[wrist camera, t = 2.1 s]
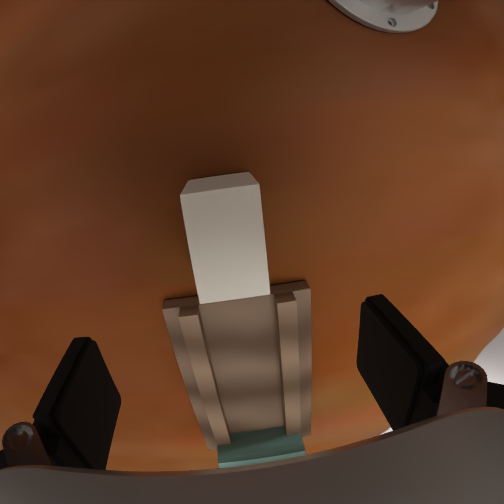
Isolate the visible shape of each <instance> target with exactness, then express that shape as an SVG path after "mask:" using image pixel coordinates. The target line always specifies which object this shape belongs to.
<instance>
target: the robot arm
mask: <svg viewBox="0 0 504 504" xmlns="http://www.w3.org/2000/svg"><path fill="white" fill-rule="evenodd" d="M328 1H329V2H330V3H331V4H333V5H334V6H335V7H336V8H337V9H339V10H340V11H341V12H342V13H344V14H345V15H347V16H348V17H350V18H351V19H353V20H355V21H357V22H359V23H361V24H363V25H365V26H367V27H370V28H373V29H375V30H378V31H383V32H388V33H407V32H412V31H415V30H417V29H420V28H422V27H424V26H425V25H427V24H428V23H429V22H430V21H431V20H432V18H433V17H434V16H435V13H436V11H437V8H438V1H439V0H328ZM357 368H358V370H359V372H360V374H361V376H362V377H363V379H364V381H365V382H366V384H367V386H368V388H369V389H370V391H371V393H372V394H373V396H374V398H375V400H376V401H377V403H378V405H379V407H380V408H381V410H382V412H383V414H384V415H385V417H386V419H387V421H388V422H389V424H390V426H391V428H392V429H393V431H391V432H388V433H385V434H382V435H379V436H375V437H372V438H369V439H365V440H362V441H359V442H355V443H352V444H348V445H345V446H341V447H337V448H333V449H329V450H325V451H321V452H317V453H312V454H308V455H303V456H298V457H293V458H288V459H283V460H277V461H271V462H265V463H259V464H252V465H244V466H236V467H227V468H217V469H205V470H190V471H162V472H140V471H113V470H105V469H106V465H107V460H108V455H109V451H110V447H111V442H112V438H113V434H114V430H115V426H116V421H117V417H118V414H119V410H120V406H121V397H120V394H119V392H118V390H117V388H116V386H115V384H114V382H113V380H112V377H111V375H110V373H109V371H108V369H107V366H106V364H105V362H104V360H103V357H102V355H101V353H100V350H99V348H98V345H97V343H96V342H95V341H94V340H93V341H92V339H91V338H90V337H79V338H74V339H73V340H72V342H71V344H70V346H69V347H68V349H67V351H66V353H65V355H64V356H63V358H62V360H61V362H60V364H59V365H58V367H57V369H56V371H55V373H54V375H53V377H52V378H51V380H50V382H49V384H48V386H47V388H46V390H45V392H44V394H43V396H42V398H41V400H40V402H39V404H38V406H37V408H36V410H35V412H34V414H33V416H32V417H33V418H34V419H35V420H34V423H33V424H31V423H29V422H18V423H16V424H14V425H12V426H10V427H9V428H8V429H7V430H6V432H5V433H4V435H3V438H2V447H3V450H1V451H0V504H504V385H502V384H497V383H491V382H487V375H486V373H485V371H484V369H482V368H481V367H480V366H479V365H477V364H475V363H473V362H469V361H459V362H455V363H453V364H451V365H450V366H449V365H448V364H447V363H446V361H445V360H444V358H443V357H442V356H441V355H440V354H439V353H438V352H437V351H436V350H435V349H434V347H433V346H432V345H431V344H430V343H429V342H428V341H427V340H426V339H425V338H424V337H423V336H422V335H421V334H420V332H419V331H418V330H417V329H416V328H415V327H414V326H413V325H412V324H411V323H410V322H409V321H408V320H407V319H406V318H405V317H404V316H403V315H402V314H401V313H400V312H399V311H398V309H397V308H396V307H395V306H394V305H393V304H392V303H391V302H390V301H389V300H388V299H387V298H386V297H385V296H384V295H382V294H379V295H375V296H370V297H367V298H366V299H365V302H362V304H361V313H360V328H359V340H358V352H357Z"/></svg>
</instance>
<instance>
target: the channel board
mask: <svg viewBox="0 0 504 504" xmlns="http://www.w3.org/2000/svg"><path fill="white" fill-rule="evenodd" d="M162 311H163V314H164V318H165V321H166V325H167V328H168V332H169V335H170V339H171V342H172V345H173V349H174V352H175V355H176V358H177V362H178V365H179V368H180V371H181V374H182V377H183V380H184V383H185V386H186V389H187V392H188V395H189V398H190V401H191V403H192V406H193V409H194V412H195V415H196V417H197V420H198V423H199V425H200V428H201V431H202V433H203V436H204V439H205V441H206V444H207V446H208V449H209V450H214V449H217V450H218V464H219V467H220V468H227V467H236V466H244V465H252V464H259V463H265V462H271V461H277V460H283V459H288V458H293V457H298V456H303V455H305V447H304V444H303V440H302V437H303V436H308V435H310V433H311V385H312V341H311V290H310V287H309V285H308V283H307V282H306V280H305V281H299V282H292V283H286V284H279V285H273V286H270V294H269V295H263V296H256V297H249V298H242V299H235V300H227V301H220V302H213V303H205V304H200V302H199V297H198V296H195V297H187V298H179V299H171V300H164V304H163V308H162Z"/></svg>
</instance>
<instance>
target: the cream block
mask: <svg viewBox="0 0 504 504" xmlns="http://www.w3.org/2000/svg"><path fill="white" fill-rule="evenodd" d="M180 200H181V206H182V212H183V218H184V224H185V229H186V235H187V240H188V246H189V251H190V257H191V262H192V267H193V272H194V277H195V282H196V287H197V292H198V297H199V302H200V304H205V303H213V302H220V301H227V300H235V299H242V298H249V297H256V296H263V295H269V294H270V286H269V275H268V265H267V255H266V244H265V234H264V224H263V215H262V205H261V195H260V186H259V183H258V182H257V181H256V179H255V178H254V177H253V176H252V175H251V173H250V172H243V173H235V174H228V175H220V176H213V177H206V178H199V179H193V180H188V182H187V184H186V185H185V187H184V189H183V190H182V192H181V194H180Z"/></svg>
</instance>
